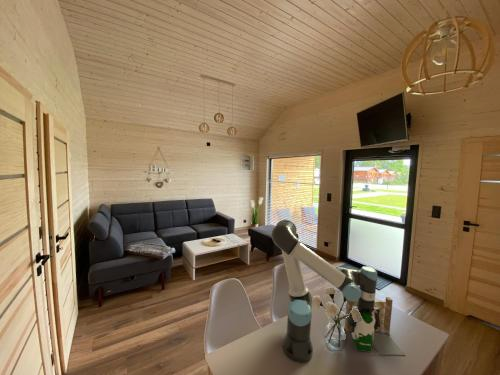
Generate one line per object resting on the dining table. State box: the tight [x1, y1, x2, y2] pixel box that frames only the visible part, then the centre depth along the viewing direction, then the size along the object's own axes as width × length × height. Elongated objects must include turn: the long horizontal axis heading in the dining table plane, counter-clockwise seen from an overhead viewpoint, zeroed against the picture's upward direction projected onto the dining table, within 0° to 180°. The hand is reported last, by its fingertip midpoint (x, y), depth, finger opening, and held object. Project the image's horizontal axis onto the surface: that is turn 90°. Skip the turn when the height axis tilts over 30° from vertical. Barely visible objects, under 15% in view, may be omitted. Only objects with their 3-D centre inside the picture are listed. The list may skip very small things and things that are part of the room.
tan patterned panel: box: [344, 296, 393, 334], centre depth 124 cm, size 24×4×20 cm, turn 90°
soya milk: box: [351, 312, 376, 353], centre depth 112 cm, size 9×9×20 cm
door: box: [353, 299, 386, 332], centre depth 123 cm, size 18×3×18 cm, turn 90°
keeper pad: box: [372, 333, 406, 357], centre depth 115 cm, size 13×13×1 cm
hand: (362, 337), depth 113 cm, fingers closed on soya milk, 9 cm apart
